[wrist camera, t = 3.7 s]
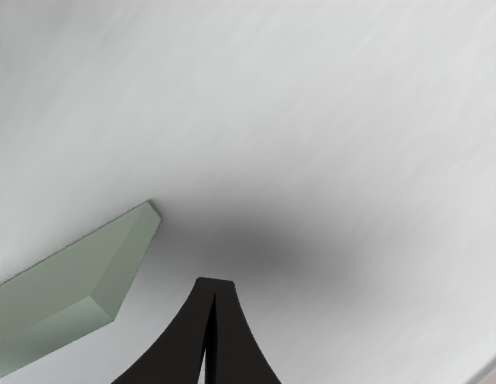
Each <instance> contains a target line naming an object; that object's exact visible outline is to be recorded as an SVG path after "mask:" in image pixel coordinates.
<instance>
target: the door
mask: <svg viewBox="0 0 496 384" xmlns="http://www.w3.org/2000/svg"><path fill="white" fill-rule="evenodd" d="M160 221H161V218H160V217H159V215H158V214H157V213H156V211H155V210H154V209H153V208H152V206H151V205H150V204H149V202H148V201H147V202H145V203H143V204H142V205H140V206H138V207H136V208H135V209H133V210H131V211H129V212H128V213H126V214H124V215H122V216H121V217H119V218H117V219H115V220H114V221H112V222H110V223H109V224H107V225H105V226H103V227H102V228H100V229H98V230H96V231H95V232H93V233H91V234H89V235H88V236H86V237H84V238H82V239H81V240H79V241H77V242H75V243H74V244H72V245H70V246H68V247H67V248H65V249H63V250H61V251H60V252H58V253H56V254H54V255H53V256H51V257H49V258H47V259H46V260H44V261H42V262H41V263H39V264H37V265H35V266H34V267H32V268H30V269H28V270H27V271H25V272H23V273H21V274H20V275H18V276H16V277H14V278H13V279H11V280H9V281H7V282H6V283H4V284H2V285H0V378H2V377H4V376H6V375H8V374H10V373H12V372H14V371H16V370H18V369H20V368H22V367H24V366H26V365H28V364H30V363H32V362H34V361H35V360H37V359H39V358H41V357H43V356H45V355H47V354H49V353H51V352H53V351H55V350H57V349H59V348H61V347H63V346H65V345H67V344H69V343H71V342H73V341H75V340H77V339H79V338H81V337H83V336H85V335H87V334H89V333H91V332H93V331H95V330H97V329H99V328H101V327H103V326H105V325H107V324H109V323H111V322H113V321H114V319H115V317H116V315H117V313H118V311H119V309H120V307H121V304H122V302H123V300H124V298H125V296H126V294H127V292H128V289H129V287H130V285H131V283H132V281H133V279H134V277H135V275H136V272H137V270H138V268H139V266H140V264H141V262H142V260H143V257H144V255H145V253H146V251H147V249H148V247H149V245H150V242H151V240H152V238H153V236H154V234H155V232H156V230H157V227H158V225H159V223H160Z"/></svg>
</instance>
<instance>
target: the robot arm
mask: <svg viewBox="0 0 496 384" xmlns="http://www.w3.org/2000/svg"><path fill="white" fill-rule="evenodd" d="M205 348H206V353H205ZM204 353H205V384H282V383H281V382H280V381H279V379H278V378H277V376H276V375H275V373H274V372H273V370H272V369H271V367H270V366H269V364H268V362H267V361H266V359H265V357H264V356H263V354H262V352H261V350H260V349H259V347H258V345H257V343H256V341H255V339H254V337H253V335H252V333H251V330H250V328H249V326H248V324H247V321H246V319H245V316H244V314H243V311H242V309H241V306H240V303H239V300H238V296H237V293H236V289H235V284H234V283H233V281H228V280H220V279H212V278H205V277H199V278H197V279H196V282H195V285H194V287H193V289H192V291H191V293H190V295H189V296H188V298H187V300H186V301H185V303H184V304H183V306H182V307H181V309H180V310H179V312H178V314H177V315H176V316H175V318H174V319H173V320H172V322H171V323H170V324H169V325H168V327H167V328H166V329H165V331H164V332H163V333H162V334H161V335H160V337H159V338H158V339H157V340H156V341H155V342H154V343H153V345H152V346H151V347H150V348H149V349H148V350H147V351H146V352H145V353H144V354H143V355H142V356H141V357H140V358H139V359H138V360H137V361H136V362H135V363H134V364H133V365H132V366H131V367H130V368H129V369H127V370H126V371H125V372H124V373H123V374H122V375H121V376H119V377H118V378H117V379H116V380H115V381H113V382H112V383H111V384H198V379H199V375H200V371H201V366H202V362H203V357H204Z"/></svg>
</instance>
